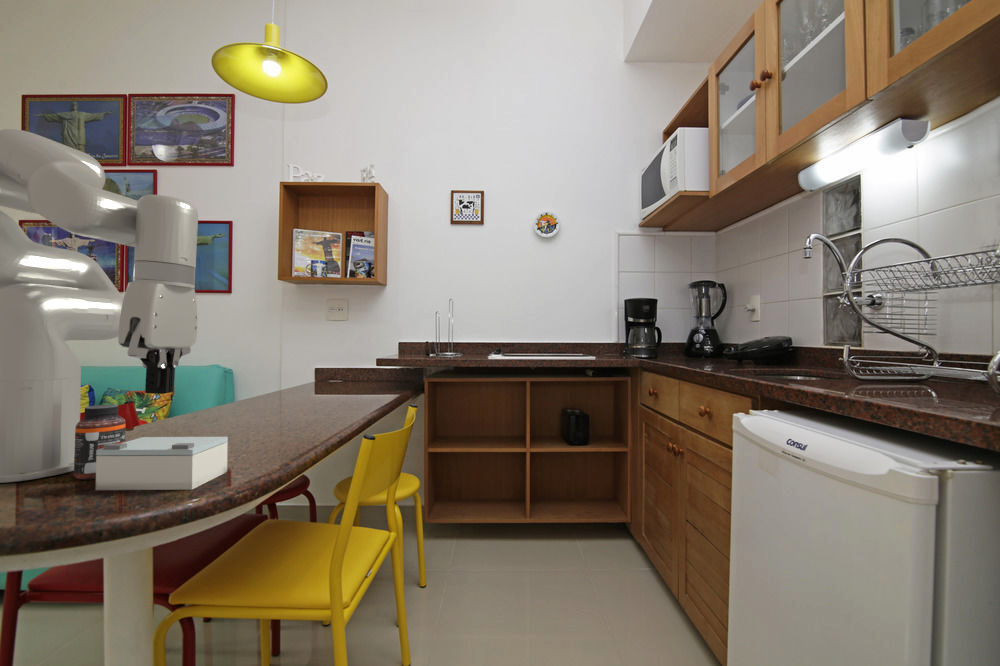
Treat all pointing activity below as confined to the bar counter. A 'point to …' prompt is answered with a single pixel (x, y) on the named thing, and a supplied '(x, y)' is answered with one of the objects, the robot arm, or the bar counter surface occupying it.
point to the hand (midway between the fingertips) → (159, 392)
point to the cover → (162, 446)
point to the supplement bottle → (96, 437)
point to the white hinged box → (160, 470)
